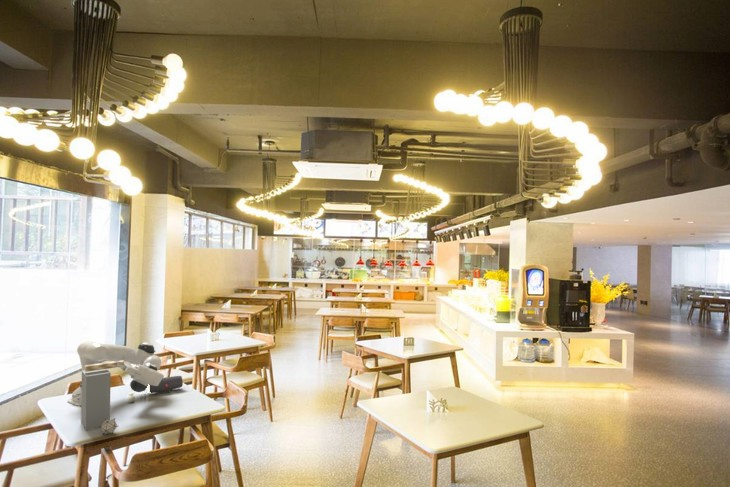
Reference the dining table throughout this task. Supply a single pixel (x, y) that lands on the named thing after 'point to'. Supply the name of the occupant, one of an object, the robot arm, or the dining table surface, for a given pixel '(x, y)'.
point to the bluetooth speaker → (167, 384)
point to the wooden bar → (102, 366)
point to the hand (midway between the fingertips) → (115, 363)
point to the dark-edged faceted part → (108, 426)
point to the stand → (95, 398)
